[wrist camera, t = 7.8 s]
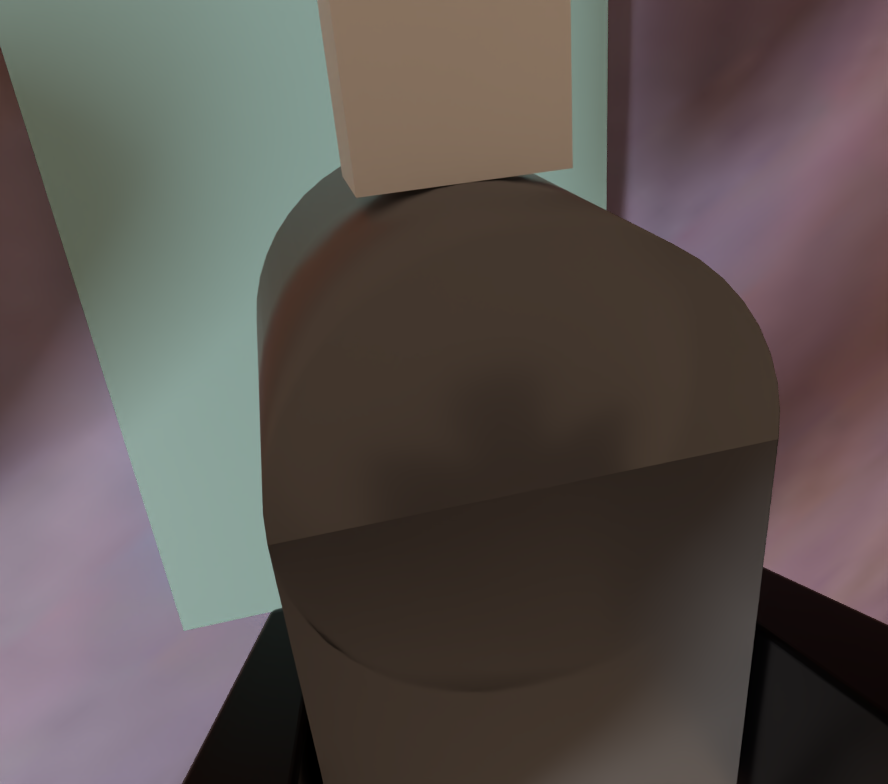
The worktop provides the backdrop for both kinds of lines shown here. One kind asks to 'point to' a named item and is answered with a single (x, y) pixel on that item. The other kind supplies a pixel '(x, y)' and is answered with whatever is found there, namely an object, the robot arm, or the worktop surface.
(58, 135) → the mat
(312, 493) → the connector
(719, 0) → the worktop surface
